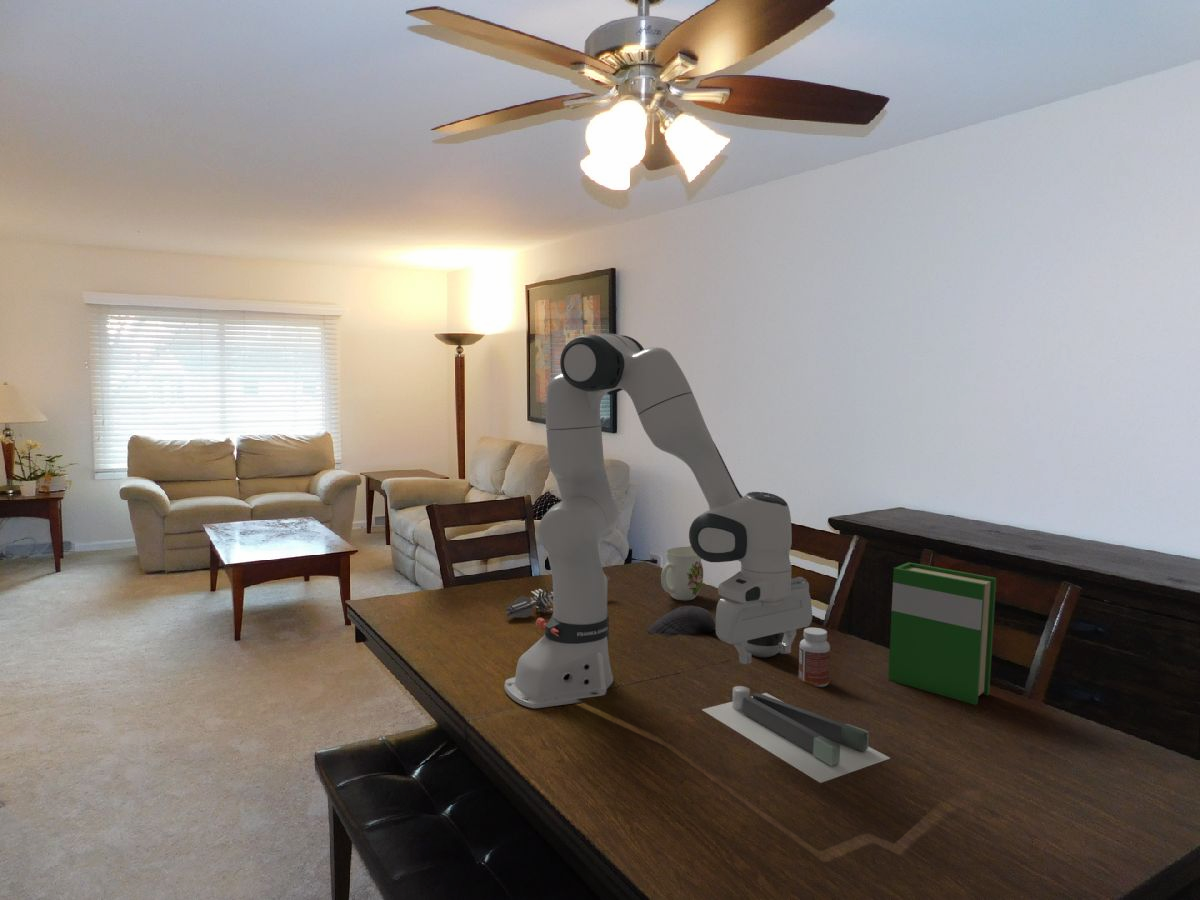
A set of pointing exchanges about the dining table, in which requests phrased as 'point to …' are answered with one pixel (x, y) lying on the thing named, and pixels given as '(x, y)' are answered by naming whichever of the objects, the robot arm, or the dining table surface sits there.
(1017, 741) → the dining table surface
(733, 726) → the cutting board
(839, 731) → the tong upper arm
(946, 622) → the hardback book
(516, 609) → the spaceship
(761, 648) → the black white egg-shaped piece
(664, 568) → the pitcher
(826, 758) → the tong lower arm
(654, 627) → the seashell
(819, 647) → the pill bottle
